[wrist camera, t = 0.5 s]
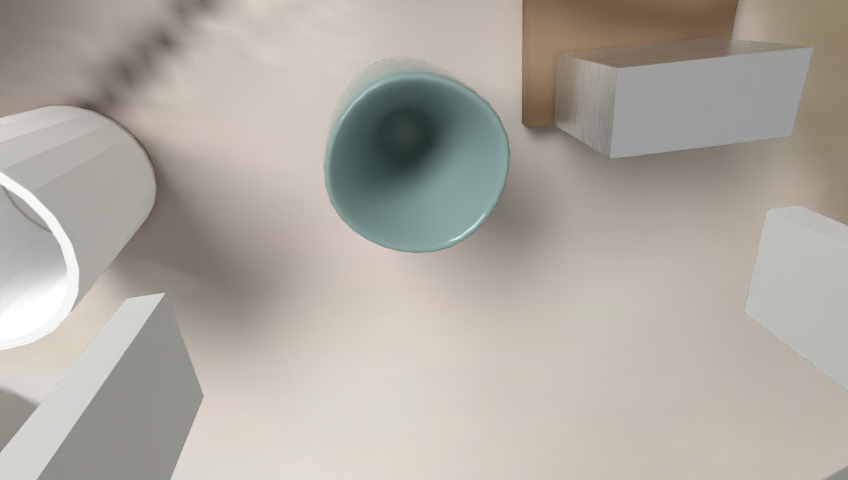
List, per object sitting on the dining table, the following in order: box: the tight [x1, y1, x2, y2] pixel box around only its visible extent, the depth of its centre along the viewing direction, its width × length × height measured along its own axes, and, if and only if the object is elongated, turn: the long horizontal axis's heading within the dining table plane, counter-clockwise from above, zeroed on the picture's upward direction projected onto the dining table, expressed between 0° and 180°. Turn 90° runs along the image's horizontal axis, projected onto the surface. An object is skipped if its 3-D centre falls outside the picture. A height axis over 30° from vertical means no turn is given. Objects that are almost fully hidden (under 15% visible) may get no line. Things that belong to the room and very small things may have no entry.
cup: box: [324, 58, 510, 253], centre depth 25 cm, size 8×8×10 cm
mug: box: [0, 105, 157, 350], centre depth 24 cm, size 11×9×10 cm
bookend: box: [555, 37, 814, 159], centre depth 25 cm, size 4×9×7 cm, turn 95°
